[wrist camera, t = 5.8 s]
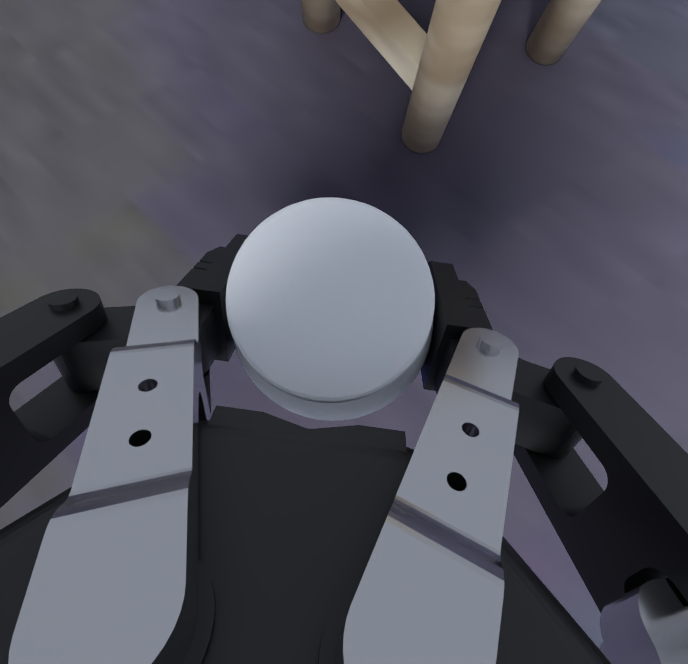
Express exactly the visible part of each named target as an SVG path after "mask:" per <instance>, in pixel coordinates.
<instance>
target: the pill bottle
mask: <svg viewBox="0 0 688 664" xmlns="http://www.w3.org/2000/svg"><path fill="white" fill-rule="evenodd" d="M434 309H435V292H434V284H433V280H432V276H431V272H430V268H429V266H428V263H427V261H426V259H425V257H424V254H423V252H422V250H421V249H420V247H419V246H418V244H417V242H416V241H415V240H414V238H413V237H412V236H411V235H410V234H409V232H408V231H407V230H406V229H405V228H404V227H403V226H402V225H400V224H399V223H398V222H397V221H396V220H395V219H393V218H392V217H391V216H389V215H387V214H386V213H384V212H383V211H381V210H379V209H377V208H375V207H373V206H371V205H368V204H366V203H362V202H358V201H356V200H349V199H345V198H335V197H324V198H314V199H309V200H304V201H301V202H298V203H294V204H292V205H289V206H287V207H285V208H283V209H281V210H280V211H278V212H276V213H274V214H272V215H271V216H269V217H268V218H267V219H265V220H264V221H263V222H262V223H261V224H259V225H258V226H257V227H256V228H255V229H254V230H253V231H252V233H251V234H250V235H249V236H248V237H247V239H246V240H245V241H244V243H243V244H242V246H241V248H240V249H239V251H238V253H237V254H236V257H235V259H234V262H233V264H232V267H231V270H230V273H229V276H228V281H227V287H226V312H227V319H228V325H229V328H230V331H231V334H232V337H233V339H234V342H235V346H236V350H237V353H238V356H239V359H240V361H241V363H242V365H243V367H244V369H245V371H246V372H247V374H248V375H249V377H250V378H251V380H252V381H253V382H254V384H255V385H256V386H257V387H258V388H259V389H260V390H261V391H262V392H263V393H264V394H265V395H266V396H267V397H268V398H270V399H271V400H272V401H274V402H275V403H277V404H278V405H280V406H281V407H283V408H285V409H287V410H289V411H291V412H293V413H296V414H298V415H302V416H305V417H308V418H312V419H318V420H331V421H333V420H348V419H354V418H358V417H362V416H365V415H368V414H370V413H373V412H375V411H377V410H379V409H381V408H383V407H385V406H386V405H388V404H390V403H391V402H392V401H394V400H395V399H396V398H397V397H399V396H400V395H401V394H402V393H403V392H404V391H405V390H406V389H407V388H408V387H409V386H410V384H411V383H412V382H413V381H414V379H415V378H416V376H417V375H418V373H419V371H420V370H421V368H422V366H423V364H424V361H425V359H426V357H427V354H428V350H429V347H430V343H431V338H432V331H433V316H434Z"/></svg>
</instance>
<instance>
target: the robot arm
mask: <svg viewBox="0 0 688 664" xmlns="http://www.w3.org/2000/svg"><path fill="white" fill-rule="evenodd" d="M247 237H248V236H247V235H240V234H237V235H236V236H235V237H234V238H233V239H232V240H231V242H230V243H229V244H228V245H227V246H226V247H218V248H216V249H214V250H212V251H209V252H207V253H206V254H205V255H204V256H203V258H202V259H201V260H200V262H198V263H197V264H196V265H195V266H194V269H191V270H190V272H189V273H188V274H187V275H186V276H185V277H184V278H183V279H182V280H181V281H180V282H179V283H178V284H177V285H176V286H164V287H159V288H155V289H152V290H150V291H148V292H146V293H144V294H143V295H141V296H140V297H139V299H138V300H137V302H136V306H128V307H108V308H104V307H103V304H102V301H101V299H100V296H99V295H98V294H97V293H96V292H94V291H91V290H87V289H66V290H60V291H56V292H52V293H49V294H47V295H44V296H42V297H40V298H38V299H36V300H34V301H32V302H30V303H28V304H26V305H24V306H22V307H20V308H18V309H16V310H14V311H13V312H11V313H9V314H7V315H5V316H3V317H1V318H0V508H1V507H2V506H3V505H4V504H5V503H6V502H7V501H9V500H10V499H11V498H12V497H13V496H14V495H15V494H16V493H17V492H18V491H19V490H20V489H22V488H23V487H24V486H25V485H26V484H27V483H28V482H29V481H30V480H31V479H32V478H33V477H35V476H36V475H37V474H38V473H39V472H40V471H41V470H42V469H43V468H44V467H45V466H46V465H48V464H49V463H50V462H51V461H52V460H53V459H54V458H55V457H56V456H57V455H58V454H59V453H60V452H62V451H63V450H64V449H65V448H66V447H67V446H68V445H69V444H70V443H71V442H72V441H73V440H75V439H76V438H77V437H78V436H79V435H80V434H81V433H82V432H83V431H84V430H85V429H86V428H88V427H89V428H88V432H87V435H86V439H85V443H84V446H83V450H82V453H81V457H80V460H79V464H78V467H77V471H76V474H75V478H74V481H73V485H72V487H71V488H69V489H67V490H66V491H64V492H62V493H61V494H59V495H57V496H56V497H54V498H52V499H51V500H49V501H47V502H46V503H44V504H42V505H41V506H39V507H37V508H36V509H34V510H32V511H31V512H29V513H28V514H26V515H24V516H23V517H21V518H19V519H18V520H16V521H14V522H13V523H11V524H9V525H8V526H6V527H4V528H3V529H1V530H0V664H688V454H687V453H686V452H685V451H684V450H683V449H682V448H681V447H680V446H679V445H678V444H677V443H676V442H675V441H674V440H673V439H672V438H671V436H670V435H669V434H668V433H667V432H666V431H665V430H664V429H663V428H662V427H661V426H660V425H659V424H658V423H657V422H656V421H655V420H654V419H653V418H652V417H651V416H650V415H649V414H648V413H647V412H646V411H645V410H644V409H643V408H642V407H641V406H640V405H639V404H638V403H637V402H636V401H635V400H634V399H633V398H632V397H631V396H630V395H629V394H628V393H627V392H626V391H625V390H624V389H623V388H622V387H621V386H620V385H619V384H618V383H617V382H616V381H615V380H614V379H613V378H612V377H611V376H610V375H609V374H608V373H607V372H605V371H604V370H603V369H601V368H599V367H598V366H596V365H594V364H592V363H590V362H587V361H584V360H581V359H578V358H572V357H564V358H560V359H558V360H557V361H556V362H555V363H554V365H553V366H552V368H551V369H547V368H545V367H542V366H539V365H536V364H533V363H530V362H527V361H525V360H522V359H520V358H518V355H519V353H518V349H517V347H516V346H515V344H514V343H513V342H512V341H511V340H510V339H508V338H507V337H505V336H504V335H502V334H500V333H498V332H496V331H493V329H492V327H491V325H490V322H489V320H488V318H487V315H486V313H485V311H484V309H483V306H482V304H481V302H480V299H479V297H478V294H477V292H476V290H475V289H474V288H473V287H472V286H471V285H469V284H468V283H467V282H466V281H461V280H458V277H457V275H456V272H455V269H454V267H453V265H452V264H447V263H440V262H432V261H429V262H428V266H429V268H430V272H431V276H432V280H433V284H434V292H435V309H434V316H433V331H432V338H431V343H430V347H429V350H428V354H427V357H426V359H425V361H424V364H423V366H422V368H421V374H422V381H423V388H424V389H427V390H434V391H436V393H437V396H436V399H435V401H434V404H433V406H432V409H431V411H430V413H429V416H428V418H427V421H426V423H425V426H424V428H423V431H422V433H421V435H420V438H419V440H418V443H417V445H416V448H415V450H413V449H410V448H408V447H406V438H405V432H404V431H397V430H390V429H382V428H375V427H368V426H361V425H356V426H343V427H331V428H319V429H307V428H304V427H301V426H298V425H296V424H293V423H291V422H288V421H285V420H283V419H280V418H277V417H275V416H272V415H269V414H267V413H264V412H259V411H252V410H245V409H237V408H230V407H223V406H216V407H215V410H214V412H213V395H212V374H211V369H210V367H211V365H212V363H213V362H214V360H221V361H229V360H230V358H231V356H232V354H233V352H234V350H235V348H236V346H235V342H234V339H233V337H232V334H231V331H230V328H229V325H228V319H227V312H226V287H227V281H228V276H229V273H230V270H231V267H232V264H233V262H234V259H235V257H236V254H237V253H238V251H239V249H240V248H241V246H242V244H243V243H244V241H245V240H246V239H247ZM52 360H54V362H55V364H56V366H57V367H58V369H59V371H60V373H61V375H62V377H61V378H59V379H58V380H57V381H55V382H54V383H53V384H51V385H50V386H49V387H47V388H46V389H45V390H43V391H42V392H41V393H39V394H38V395H36V396H35V397H34V398H32V399H31V400H30V401H28V402H27V403H26V404H24V405H23V406H22V407H20V408H19V409H17V410H16V411H15V412H13V410H12V409H11V407H10V405H9V397H10V394H11V392H12V391H13V389H14V388H15V387H16V386H17V385H18V384H19V383H20V382H22V381H23V380H25V379H26V378H28V377H29V376H30V375H32V374H33V373H35V372H36V371H38V370H39V369H41V368H42V367H44V366H45V365H47V364H48V363H49V362H51V361H52ZM582 438H583V439H584V441H585V442H586V443H587V445H588V446H589V447H590V449H591V450H592V451H593V453H594V454H595V455H596V457H597V458H598V459H599V461H600V462H601V463H602V465H603V466H604V468H605V470H606V473H607V477H608V485H607V488H606V490H605V491H603V489H602V488H601V486H600V485H599V484H598V482H597V481H596V479H595V478H594V477H593V475H592V474H591V472H590V471H589V469H588V468H587V467H586V465H585V464H584V462H583V461H582V460H581V458H580V457H579V455H578V454H577V453H576V451H575V450H574V447H575V446H576V445H577V443H578V442H579V441H580V440H581V439H582ZM513 454H514V456H515V457H516V459H517V461H518V463H519V465H520V467H521V468H522V470H523V472H524V474H525V476H526V477H527V479H528V481H529V483H530V485H531V487H532V488H533V490H534V492H535V494H536V496H537V498H538V499H539V501H540V503H541V505H542V507H543V508H544V510H545V512H546V514H547V516H548V518H549V519H550V521H551V523H552V525H553V527H554V528H555V530H556V532H557V534H558V536H559V538H560V539H561V541H562V543H563V545H564V547H565V549H566V550H567V552H568V554H569V556H570V558H571V559H572V561H573V563H574V565H575V567H576V569H577V570H578V572H579V574H580V576H581V578H582V580H583V581H584V583H585V585H586V587H587V589H588V590H589V592H590V594H591V596H592V598H593V600H594V601H595V603H596V605H597V607H598V609H599V611H600V612H601V617H600V628H601V634H602V638H603V642H602V643H601V645H600V650H599V648H598V647H597V646H596V645H595V644H594V642H593V641H592V640H591V639H590V638H589V637H588V635H587V634H586V633H585V632H584V631H583V630H582V628H581V627H580V626H579V625H578V624H577V623H576V621H575V620H574V619H573V618H572V617H571V615H570V614H569V613H568V612H567V611H566V610H565V608H564V607H563V606H562V605H561V604H560V603H559V601H558V600H557V599H556V598H555V597H554V596H553V594H552V593H551V592H550V591H549V590H548V588H547V587H546V586H545V585H544V584H543V583H542V581H541V580H540V579H539V578H538V577H537V576H536V574H535V573H534V572H533V571H532V570H531V569H530V567H529V566H528V565H527V564H526V563H525V562H524V560H523V559H522V558H521V557H520V556H519V554H518V553H517V552H516V551H515V550H514V549H513V547H512V546H511V545H510V544H509V543H508V542H507V540H506V539H505V538H504V537H503V528H504V521H505V513H506V506H507V498H508V491H509V483H510V476H511V468H512V460H513Z"/></svg>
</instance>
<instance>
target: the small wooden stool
mask: <svg viewBox="0 0 688 664" xmlns="http://www.w3.org/2000/svg"><path fill="white" fill-rule="evenodd" d="M500 2H501V0H436V2H435V6H434V9H433V13H432V17H431V21H430V25H429V28H428V32H427V34H426V32H425V31H424V30H423V29H422V28H421V27H420V26H419V24H418V23H417V22H416V21H415V20H414V19H413V18H412V16H411V15H410V14H409V13H408V12H407V11H406V10H405V8H404V7H403V6H402V5H401V4H400V3H399V2H398V0H301V7H302V18H303V22H304V24H305V26H306V27H307V28H308V29H309V30H311V31H313V32H316V33H328V32H331V31H332V30H334V29H335V28H336V27H337V26H338V24H339V22H340V15H341V8H342V9H343V10H344V11H345V13H346V14H347V15H348V16H349V17H350V18H351V20H352V21H353V22H354V23H355V24H356V25H357V27H358V28H359V29H360V30H361V31H362V32H363V34H364V35H365V36H366V37H367V38H368V40H369V41H370V42H371V43H372V44H373V45H374V47H375V48H376V49H377V50H378V51H379V52H380V54H381V55H382V56H383V57H384V58H385V59H386V61H387V62H388V63H389V64H390V65H391V66H392V68H393V69H394V70H395V71H396V72H397V73H398V75H399V76H400V77H401V78H402V79H403V81H404V82H405V83H406V84H407V85H408V86H409V88H410V89H411V90H412V93H411V97H410V101H409V105H408V108H407V112H406V116H405V120H404V124H403V128H402V132H401V136H402V140H403V142H404V144H405V146H406V147H407V148H409V149H410V150H412V151H414V152H417V153H427V152H430V151H432V150H434V149H435V148H436V147H437V146H438V144H439V142H440V140H441V138H442V135H443V133H444V131H445V128H446V126H447V124H448V122H449V119H450V117H451V115H452V112H453V110H454V108H455V105H456V103H457V101H458V99H459V96H460V94H461V92H462V89H463V87H464V85H465V83H466V80H467V78H468V76H469V73H470V71H471V69H472V67H473V64H474V62H475V60H476V57H477V55H478V53H479V51H480V48H481V46H482V44H483V41H484V39H485V37H486V34H487V32H488V30H489V28H490V25H491V23H492V21H493V18H494V16H495V14H496V12H497V9H498V7H499V5H500ZM600 2H601V0H550V1H549V3H548V5H547V6H546V8H545V10H544V12H543V13H542V15H541V17H540V19H539V20H538V22H537V24H536V26H535V28H534V29H533V31H532V33H531V35H530V36H529V38H528V40H527V42H526V51H527V54H528V55H529V57H530V58H531V59H532V60H533V61H535V62H536V63H538V64H542V65H551V64H554V63H556V62H558V61H559V60H560V59H561V57H562V56H563V54H564V53H565V51H566V50H567V49H568V47H569V46H570V44H571V43H572V42H573V40H574V39H575V37H576V36H577V34H578V33H579V32H580V30H581V29H582V27H583V26H584V24H585V23H586V22H587V20H588V19H589V17H590V16H591V14H592V13H593V12H594V10H595V9H596V7H597V6H598V4H599V3H600Z"/></svg>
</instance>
